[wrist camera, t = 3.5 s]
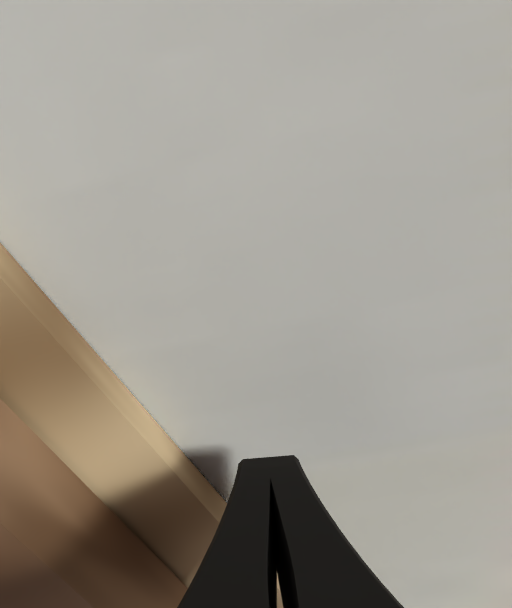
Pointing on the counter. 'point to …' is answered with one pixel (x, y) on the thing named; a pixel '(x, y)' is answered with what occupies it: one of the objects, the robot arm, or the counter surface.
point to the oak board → (101, 428)
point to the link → (67, 537)
